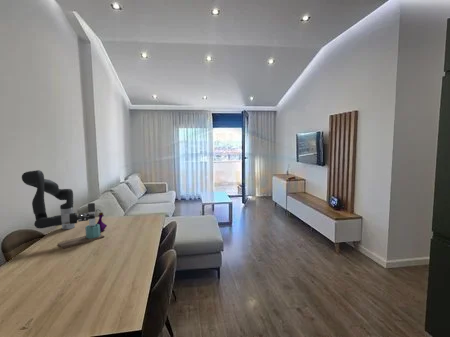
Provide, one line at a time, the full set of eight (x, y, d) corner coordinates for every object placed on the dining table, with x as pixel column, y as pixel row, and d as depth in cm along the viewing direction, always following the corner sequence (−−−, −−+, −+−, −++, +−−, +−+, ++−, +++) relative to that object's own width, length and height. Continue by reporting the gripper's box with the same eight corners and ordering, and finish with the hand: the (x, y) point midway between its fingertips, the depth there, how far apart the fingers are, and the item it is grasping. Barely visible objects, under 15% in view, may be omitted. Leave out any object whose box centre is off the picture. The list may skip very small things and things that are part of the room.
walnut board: (58, 244, 180) (57, 243, 180) (97, 233, 200) (97, 232, 200) (63, 248, 172) (63, 247, 172) (104, 237, 192) (104, 236, 192)
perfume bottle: (107, 229, 211) (105, 207, 209) (102, 232, 203) (100, 210, 202) (98, 229, 212) (97, 207, 210) (93, 232, 204) (91, 210, 202)
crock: (84, 236, 192) (83, 226, 191) (97, 233, 198) (96, 223, 198) (89, 239, 186) (88, 228, 185) (102, 235, 192) (101, 225, 192)
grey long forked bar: (89, 234, 192) (88, 203, 190) (96, 233, 194) (94, 202, 192) (89, 236, 189) (87, 204, 187) (96, 235, 191) (94, 203, 189)
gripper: (68, 216, 177) (94, 212, 185) (69, 211, 190) (94, 208, 197) (69, 226, 178) (95, 222, 185) (70, 221, 190) (94, 218, 198)
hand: (94, 215), depth 191 cm, fingers open, 8 cm apart
